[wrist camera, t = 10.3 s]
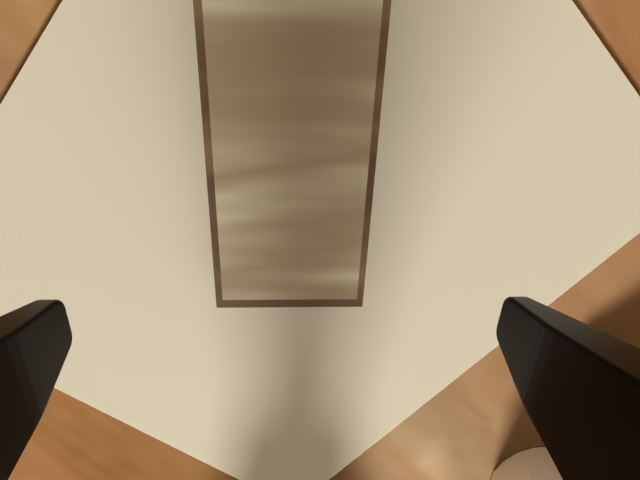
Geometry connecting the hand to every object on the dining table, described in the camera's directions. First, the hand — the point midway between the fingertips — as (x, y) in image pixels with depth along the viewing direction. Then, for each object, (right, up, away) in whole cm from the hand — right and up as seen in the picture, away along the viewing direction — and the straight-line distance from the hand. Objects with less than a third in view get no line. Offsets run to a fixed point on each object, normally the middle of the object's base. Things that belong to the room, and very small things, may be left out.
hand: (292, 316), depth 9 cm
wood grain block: (-1, -1, +10) cm, 10 cm away
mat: (-1, +2, +10) cm, 11 cm away
